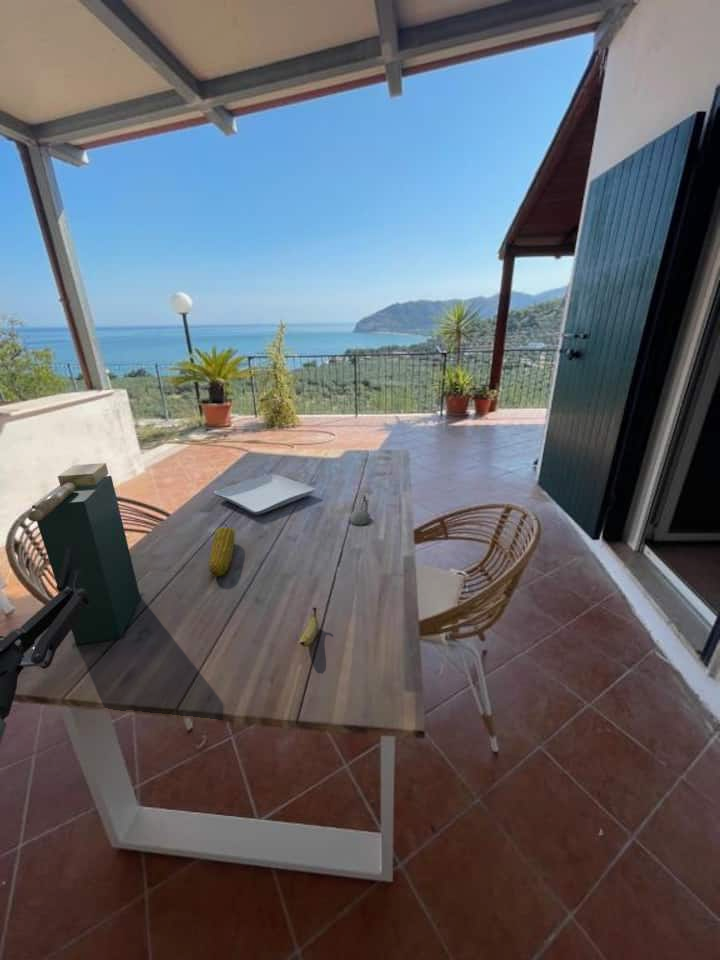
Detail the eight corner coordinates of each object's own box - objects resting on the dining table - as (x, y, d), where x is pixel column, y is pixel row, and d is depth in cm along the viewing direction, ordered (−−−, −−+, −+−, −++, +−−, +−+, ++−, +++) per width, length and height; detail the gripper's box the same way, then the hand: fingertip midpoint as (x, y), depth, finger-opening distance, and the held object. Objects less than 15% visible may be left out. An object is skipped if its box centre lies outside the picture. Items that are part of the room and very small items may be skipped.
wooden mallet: (11, 525, 59) (6, 511, 58) (76, 476, 81) (73, 465, 80) (56, 521, 61) (52, 507, 60) (108, 473, 82) (105, 462, 81)
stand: (76, 645, 77) (31, 505, 66) (101, 601, 89) (67, 479, 79) (121, 637, 78) (84, 501, 68) (140, 595, 91) (111, 475, 81)
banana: (309, 659, 73) (308, 642, 71) (297, 658, 73) (295, 641, 72) (321, 622, 82) (320, 607, 81) (310, 621, 83) (309, 606, 81)
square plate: (213, 500, 145) (212, 490, 144) (272, 481, 164) (272, 472, 163) (256, 521, 128) (255, 510, 127) (317, 496, 148) (316, 487, 146)
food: (216, 542, 115) (213, 524, 113) (236, 540, 116) (234, 522, 114) (208, 583, 96) (205, 562, 94) (232, 580, 97) (229, 559, 95)
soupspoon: (348, 526, 126) (368, 528, 125) (348, 517, 124) (368, 519, 124) (355, 498, 146) (372, 499, 145) (355, 490, 145) (373, 491, 144)
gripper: (78, 683, 44) (106, 532, 57) (-220, 752, 37) (-109, 563, 51) (102, 701, 49) (123, 560, 63) (-154, 764, 43) (-69, 590, 56)
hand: (19, 561), depth 57 cm, fingers open, 13 cm apart
